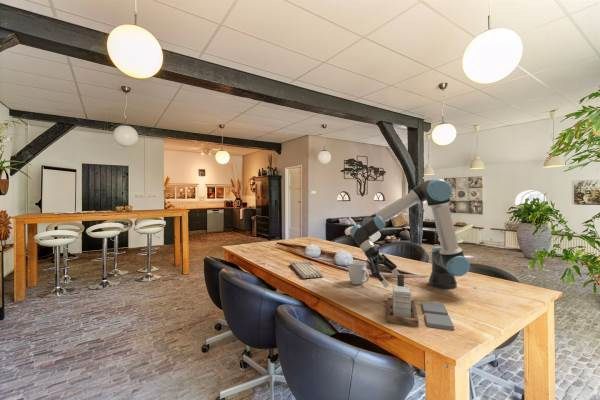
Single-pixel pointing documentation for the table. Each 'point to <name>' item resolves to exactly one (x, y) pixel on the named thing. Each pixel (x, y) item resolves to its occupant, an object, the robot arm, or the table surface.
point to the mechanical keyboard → (305, 270)
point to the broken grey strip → (437, 315)
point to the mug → (357, 272)
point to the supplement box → (401, 301)
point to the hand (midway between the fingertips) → (394, 283)
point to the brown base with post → (401, 320)
